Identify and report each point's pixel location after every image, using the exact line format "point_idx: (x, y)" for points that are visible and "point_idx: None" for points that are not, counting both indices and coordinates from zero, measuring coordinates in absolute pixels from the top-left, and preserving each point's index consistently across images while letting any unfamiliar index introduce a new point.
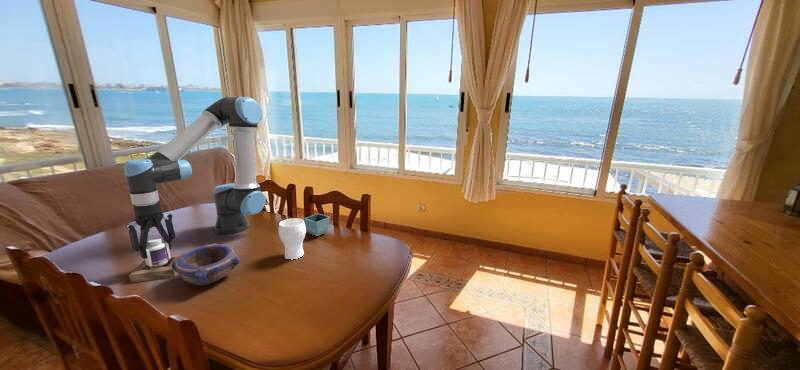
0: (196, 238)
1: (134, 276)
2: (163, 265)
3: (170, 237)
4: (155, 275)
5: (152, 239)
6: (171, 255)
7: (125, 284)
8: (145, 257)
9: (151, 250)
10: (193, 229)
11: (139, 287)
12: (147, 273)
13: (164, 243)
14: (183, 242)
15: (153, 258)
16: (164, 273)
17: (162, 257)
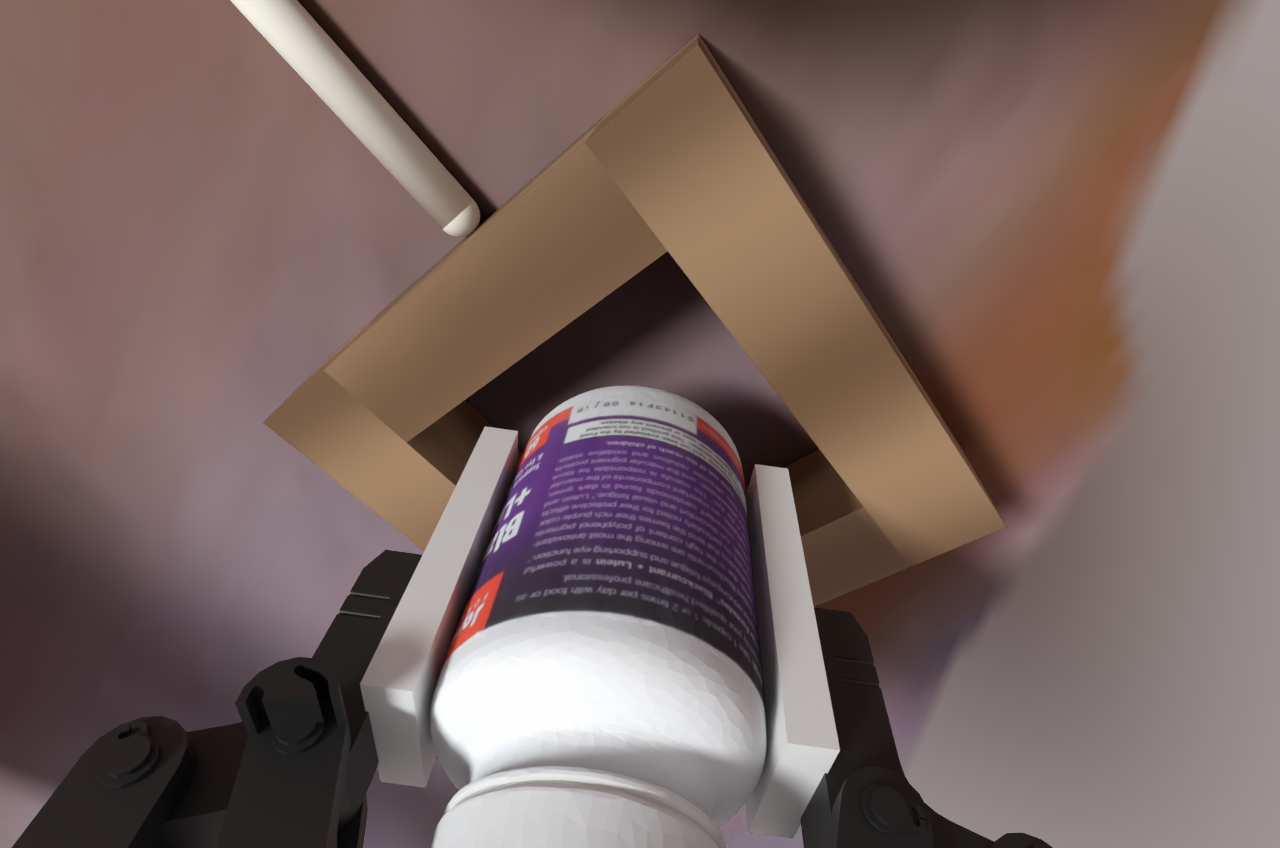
0: (63, 664)
1: (972, 470)
2: None
3: (204, 803)
4: (846, 272)
5: None
6: (418, 522)
7: (1003, 474)
8: (833, 627)
9: (751, 692)
10: (45, 787)
11: (1067, 254)
12: (906, 369)
13: (419, 719)
14: (190, 692)
15: (739, 535)
16: (781, 171)
17: (624, 460)
